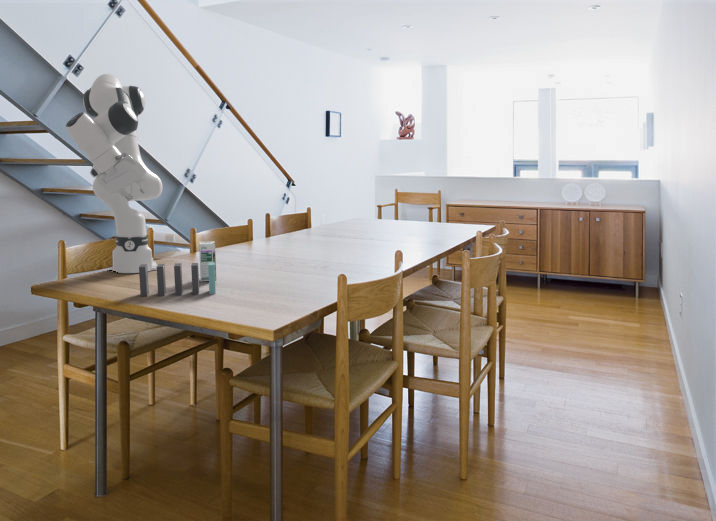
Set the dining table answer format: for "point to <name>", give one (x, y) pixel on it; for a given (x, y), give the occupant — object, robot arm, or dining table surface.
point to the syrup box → (206, 259)
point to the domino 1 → (143, 280)
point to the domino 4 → (195, 278)
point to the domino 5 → (212, 278)
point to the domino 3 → (178, 279)
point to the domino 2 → (161, 279)
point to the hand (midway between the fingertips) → (138, 196)
